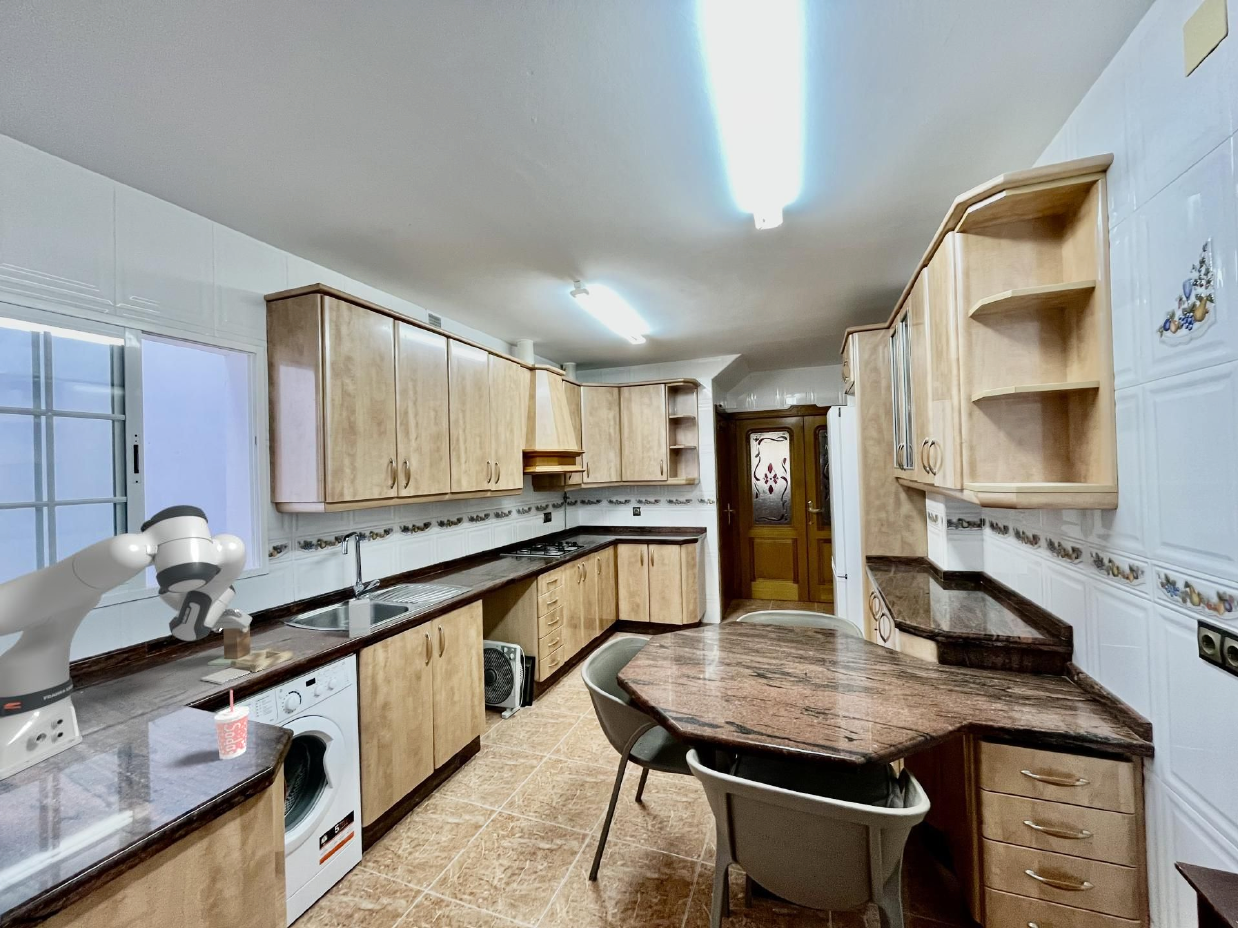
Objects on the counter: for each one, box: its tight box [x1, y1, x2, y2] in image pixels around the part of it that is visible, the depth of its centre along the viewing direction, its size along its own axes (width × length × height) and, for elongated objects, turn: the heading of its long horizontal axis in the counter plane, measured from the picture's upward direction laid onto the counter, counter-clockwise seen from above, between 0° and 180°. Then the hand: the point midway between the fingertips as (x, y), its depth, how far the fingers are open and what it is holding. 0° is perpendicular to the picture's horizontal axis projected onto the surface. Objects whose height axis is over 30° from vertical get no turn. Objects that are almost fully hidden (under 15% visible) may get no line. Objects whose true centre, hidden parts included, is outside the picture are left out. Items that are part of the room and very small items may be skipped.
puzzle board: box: [200, 647, 294, 683], centre depth 157 cm, size 21×12×2 cm, turn 159°
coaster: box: [207, 650, 260, 666], centre depth 167 cm, size 11×11×1 cm
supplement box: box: [348, 598, 371, 639], centre depth 189 cm, size 7×7×13 cm
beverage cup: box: [213, 689, 250, 760], centre depth 108 cm, size 6×6×14 cm
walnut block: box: [222, 623, 251, 659], centre depth 167 cm, size 5×5×11 cm
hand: (232, 630), depth 166 cm, fingers open, 8 cm apart
